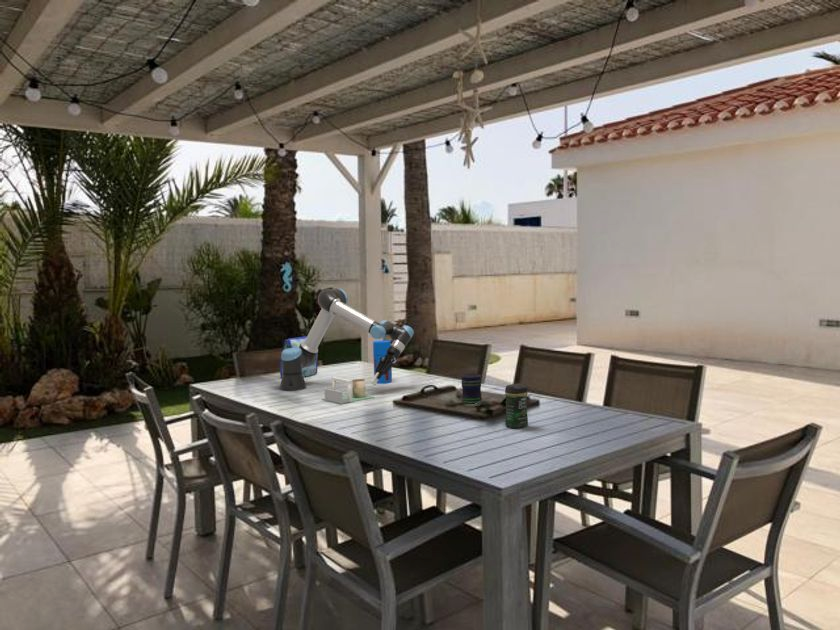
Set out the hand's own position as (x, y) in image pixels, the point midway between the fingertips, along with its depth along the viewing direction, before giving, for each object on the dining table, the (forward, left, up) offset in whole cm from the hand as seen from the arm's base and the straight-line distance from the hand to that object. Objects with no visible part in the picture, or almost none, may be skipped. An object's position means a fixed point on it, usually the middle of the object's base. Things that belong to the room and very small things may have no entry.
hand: (373, 383), depth 370 cm
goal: (0, -23, -6) cm, 24 cm away
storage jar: (+59, +17, -7) cm, 62 cm away
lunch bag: (-87, +6, -7) cm, 88 cm away
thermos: (-28, +29, -7) cm, 41 cm away
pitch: (-2, -15, -7) cm, 17 cm away
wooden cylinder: (0, -9, -6) cm, 11 cm away
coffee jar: (+105, -1, -7) cm, 105 cm away
